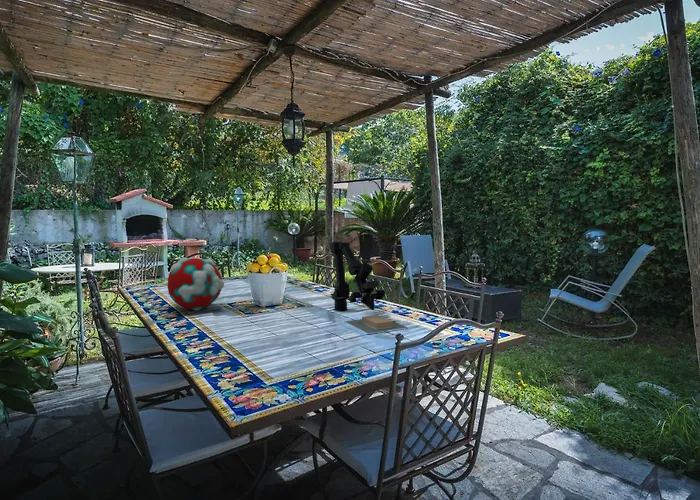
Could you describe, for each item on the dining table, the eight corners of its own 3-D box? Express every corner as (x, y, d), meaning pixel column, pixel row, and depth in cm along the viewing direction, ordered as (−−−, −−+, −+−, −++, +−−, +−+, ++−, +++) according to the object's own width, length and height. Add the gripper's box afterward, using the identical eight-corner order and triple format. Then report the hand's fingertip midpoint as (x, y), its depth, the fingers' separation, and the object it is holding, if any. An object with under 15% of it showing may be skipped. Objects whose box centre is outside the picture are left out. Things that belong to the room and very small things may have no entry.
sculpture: (167, 306, 246) (165, 256, 244) (220, 301, 259) (219, 254, 257) (169, 318, 218) (167, 261, 215) (228, 312, 230) (227, 259, 228)
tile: (362, 316, 205) (376, 323, 193) (377, 315, 210) (392, 321, 197) (362, 322, 206) (376, 329, 193) (377, 320, 210) (392, 327, 197)
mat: (344, 322, 209) (344, 321, 209) (381, 318, 219) (381, 316, 219) (368, 335, 188) (368, 333, 187) (408, 329, 198) (408, 327, 198)
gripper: (351, 276, 203) (362, 302, 195) (383, 273, 212) (395, 298, 203) (344, 289, 211) (354, 315, 202) (375, 286, 220) (386, 311, 211)
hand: (373, 309), depth 204 cm, fingers closed
